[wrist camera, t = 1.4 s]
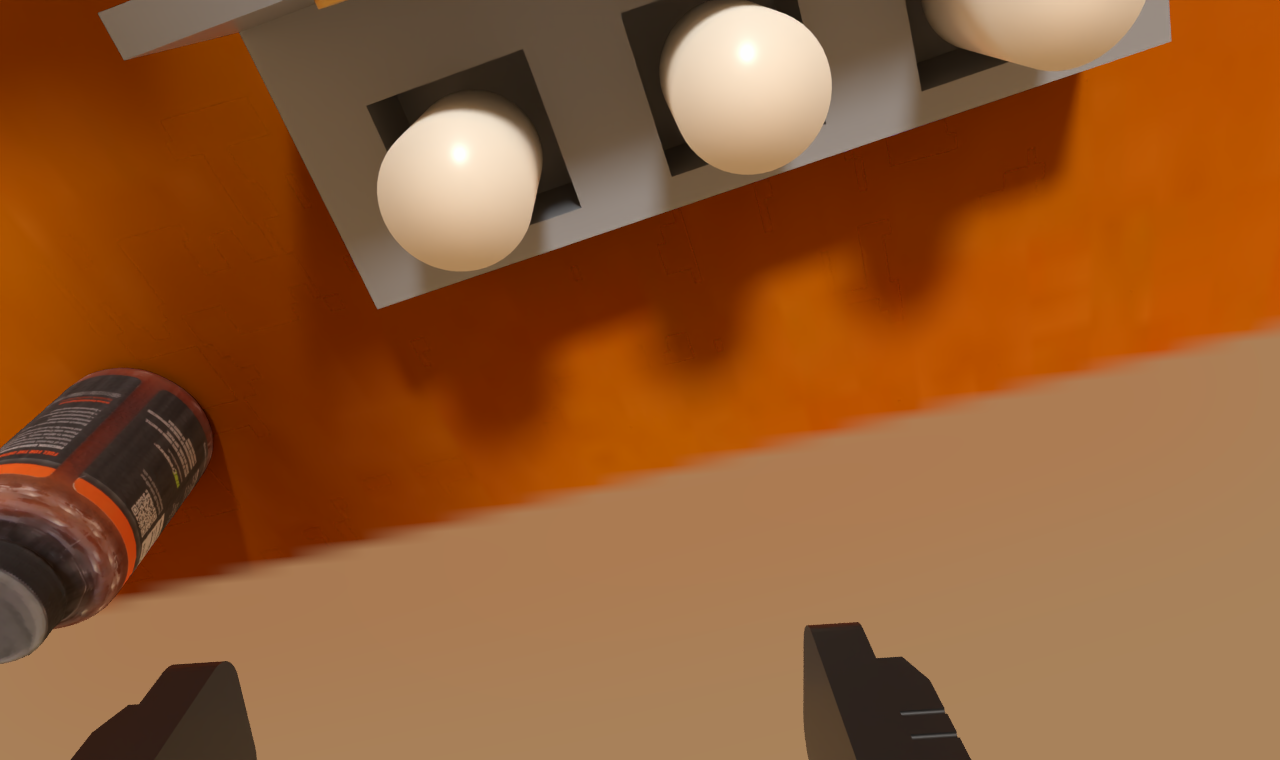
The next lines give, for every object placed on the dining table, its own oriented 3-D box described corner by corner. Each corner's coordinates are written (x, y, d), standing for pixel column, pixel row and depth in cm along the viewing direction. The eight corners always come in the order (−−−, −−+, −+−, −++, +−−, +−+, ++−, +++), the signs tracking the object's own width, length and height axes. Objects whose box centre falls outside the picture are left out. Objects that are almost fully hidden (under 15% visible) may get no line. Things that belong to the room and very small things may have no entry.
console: (277, -12, 30) (97, 13, 19) (1055, -308, 27) (1361, -474, 16) (405, 261, 34) (319, 408, 23) (1088, 27, 31) (1347, 70, 21)
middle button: (641, 24, 26) (651, 41, 22) (772, -23, 26) (811, -16, 21) (681, 155, 28) (698, 195, 23) (805, 112, 28) (847, 145, 23)
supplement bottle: (33, 412, 36) (-187, 596, 26) (138, 334, 35) (-50, 495, 25) (147, 513, 38) (-13, 718, 28) (250, 442, 37) (121, 631, 27)
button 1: (390, 115, 27) (350, 149, 22) (513, 70, 27) (497, 96, 22) (444, 236, 29) (416, 290, 24) (561, 196, 28) (555, 244, 24)
